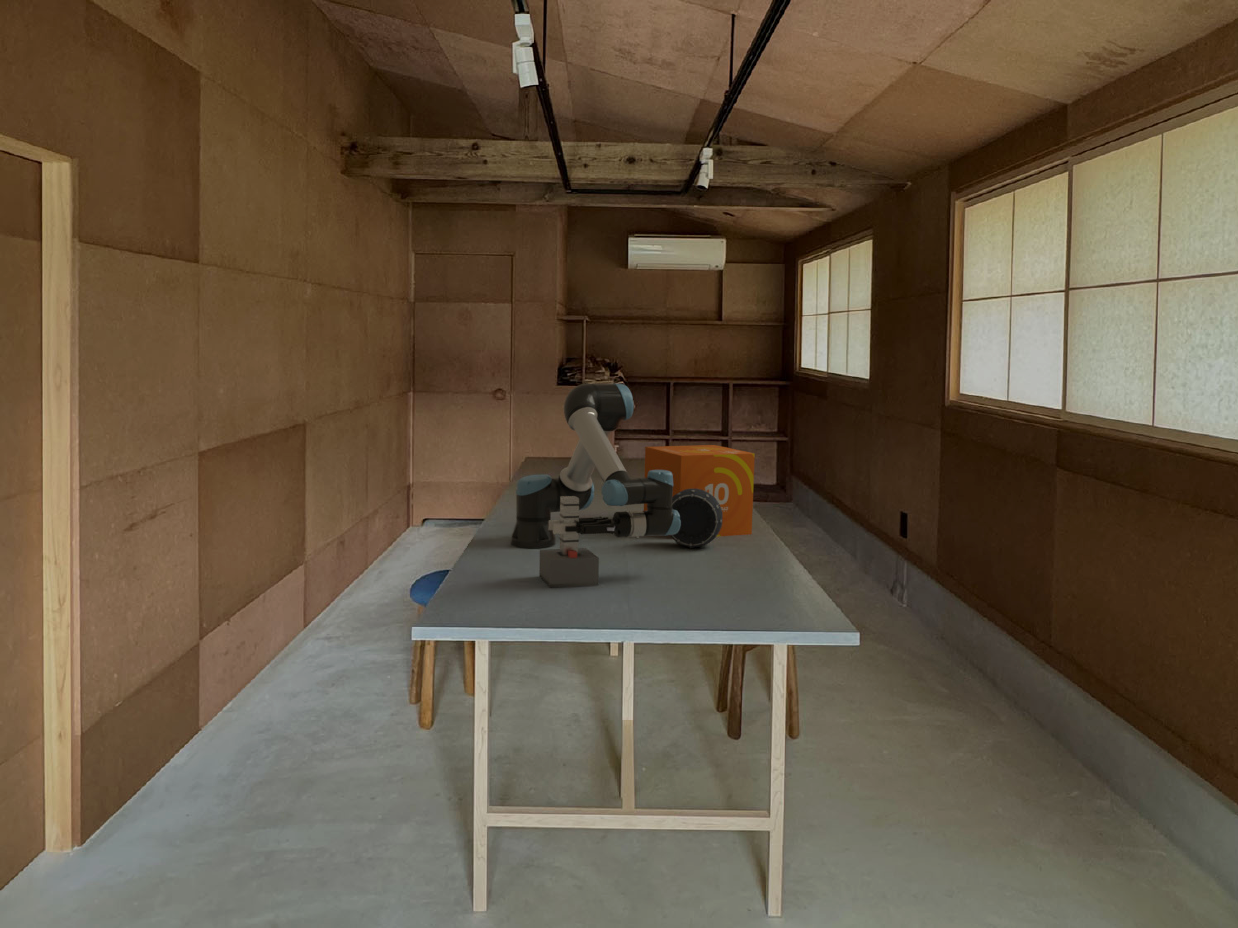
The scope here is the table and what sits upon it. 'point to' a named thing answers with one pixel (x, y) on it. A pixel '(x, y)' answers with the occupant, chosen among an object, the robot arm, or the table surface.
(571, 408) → the robot arm
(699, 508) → the studded black puck
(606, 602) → the table surface
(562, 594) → the table surface
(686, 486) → the box
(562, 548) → the column
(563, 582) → the stand
